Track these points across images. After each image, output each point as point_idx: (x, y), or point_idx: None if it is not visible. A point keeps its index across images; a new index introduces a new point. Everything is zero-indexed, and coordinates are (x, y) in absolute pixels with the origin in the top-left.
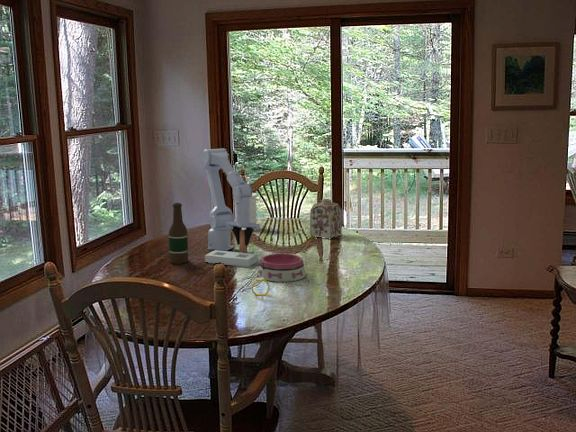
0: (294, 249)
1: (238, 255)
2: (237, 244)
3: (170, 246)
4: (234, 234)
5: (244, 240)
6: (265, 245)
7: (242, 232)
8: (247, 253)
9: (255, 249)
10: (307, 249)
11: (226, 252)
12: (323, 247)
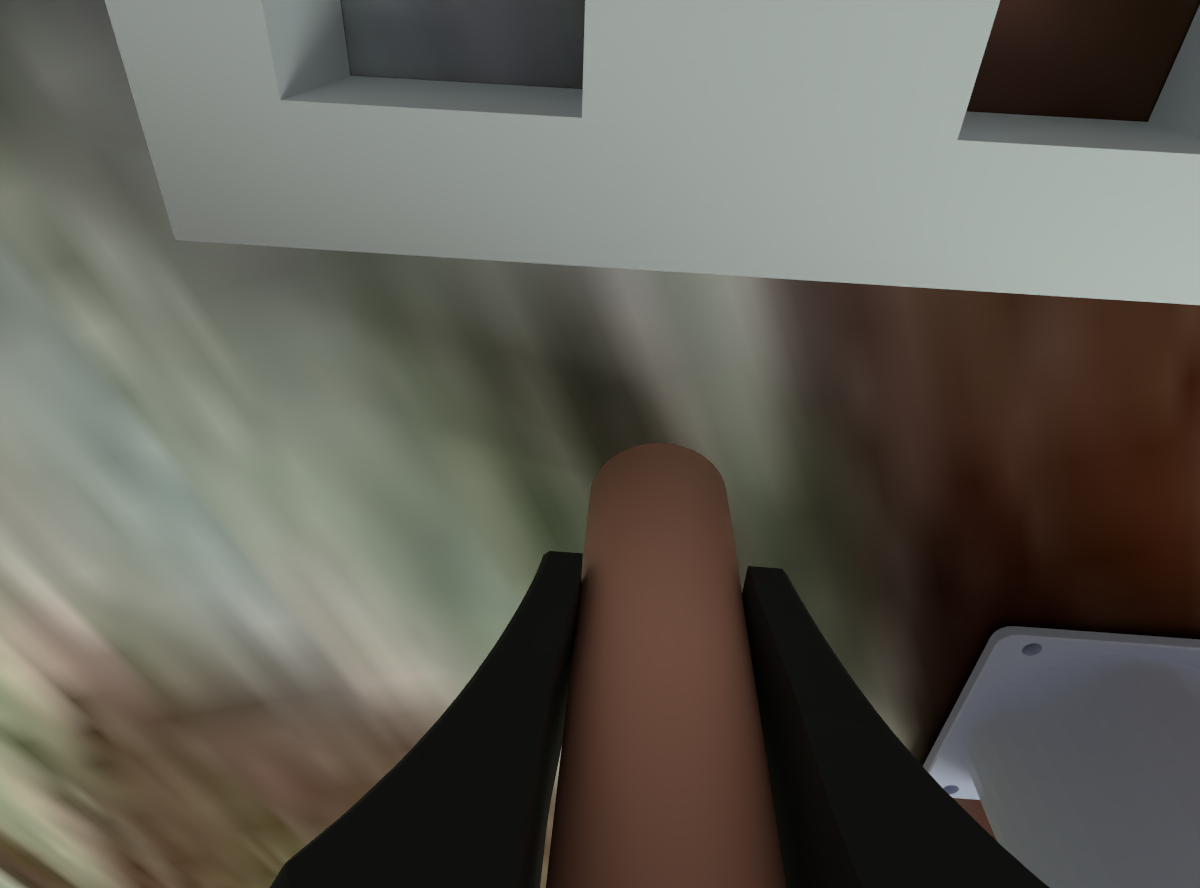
0: (198, 806)
1: (587, 33)
2: (786, 575)
3: None
4: (941, 790)
5: (594, 647)
6: None
7: (640, 879)
8: (414, 234)
9: None
10: (83, 822)
11: (985, 167)
12: (11, 881)
